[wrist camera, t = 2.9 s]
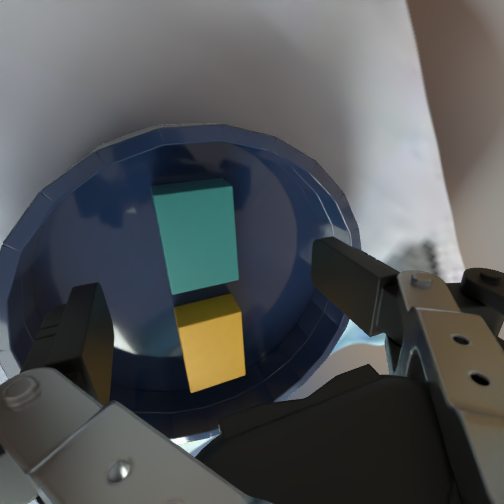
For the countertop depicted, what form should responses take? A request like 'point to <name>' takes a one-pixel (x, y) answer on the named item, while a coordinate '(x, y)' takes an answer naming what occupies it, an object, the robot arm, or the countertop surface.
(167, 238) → the block
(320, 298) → the bowl
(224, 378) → the block
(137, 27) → the countertop surface
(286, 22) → the countertop surface
